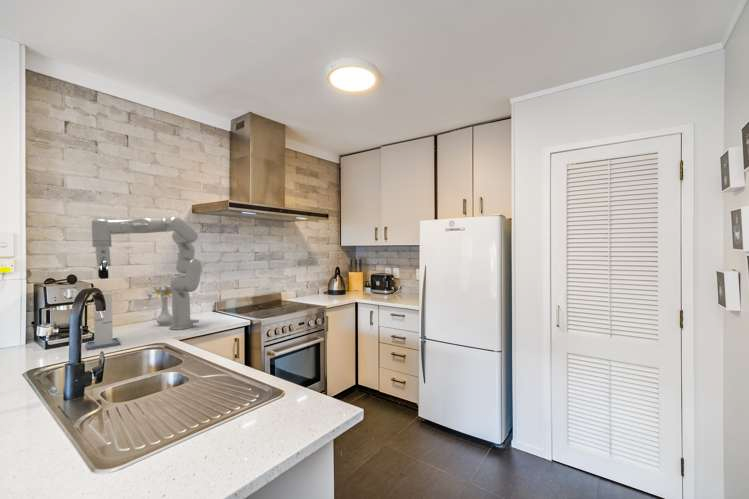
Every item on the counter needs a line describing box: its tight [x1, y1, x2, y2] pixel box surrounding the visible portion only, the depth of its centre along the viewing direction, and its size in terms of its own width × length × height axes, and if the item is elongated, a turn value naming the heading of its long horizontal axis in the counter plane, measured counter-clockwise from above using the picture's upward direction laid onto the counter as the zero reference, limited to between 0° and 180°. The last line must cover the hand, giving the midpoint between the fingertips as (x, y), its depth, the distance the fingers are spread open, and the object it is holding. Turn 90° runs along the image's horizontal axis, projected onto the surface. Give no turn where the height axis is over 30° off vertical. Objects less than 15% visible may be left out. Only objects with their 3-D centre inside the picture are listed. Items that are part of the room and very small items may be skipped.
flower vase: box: [145, 285, 172, 327], centre depth 216 cm, size 13×18×25 cm
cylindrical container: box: [93, 292, 114, 346], centre depth 170 cm, size 7×7×25 cm
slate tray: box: [85, 337, 122, 351], centre depth 170 cm, size 13×13×2 cm
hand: (103, 278), depth 171 cm, fingers open, 9 cm apart
